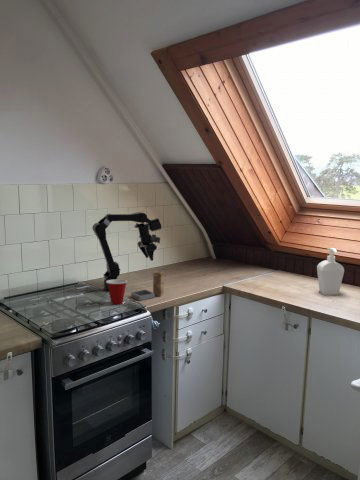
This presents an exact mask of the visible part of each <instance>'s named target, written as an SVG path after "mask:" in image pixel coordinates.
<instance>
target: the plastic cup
mask: <svg viewBox="0 0 360 480" xmlns="http://www.w3.org/2000/svg"><path fill="white" fill-rule="evenodd" d="M106 283H107V285H108V289H109V292H108V293H109V298H110V302H111V304H112V305H117V306H118V305H122V304H123V302H124V298H125V292H126V291H125V290H126V285H127V283H128V280H126V279H119V278H117V279H114V280H107V281H106Z"/></svg>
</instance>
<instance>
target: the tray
mask: <svg viewBox="0 0 360 480" xmlns="http://www.w3.org/2000/svg"><path fill="white" fill-rule="evenodd" d="M130 297H131V298H133V299H135V300H137V301H138V302H142V301H147V300H151V299H155V297H156V296H155V293H153V291H150V290H148V289H141V290H136V291H132V292H131V293H130Z"/></svg>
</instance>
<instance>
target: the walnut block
mask: <svg viewBox="0 0 360 480" xmlns="http://www.w3.org/2000/svg"><path fill="white" fill-rule="evenodd" d="M152 277H153V278H152V288H153V289H152V293H155V297H160V298H161V297H163V296H164V295H165V292H164V291H165V271H161V270H160V271H159V270H155V271H154V272H152Z"/></svg>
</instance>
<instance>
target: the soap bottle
mask: <svg viewBox="0 0 360 480" xmlns="http://www.w3.org/2000/svg"><path fill="white" fill-rule="evenodd" d="M326 250H327V251H329V254H327V257H326V259H325V260H322V261H321V262H319V263H318V264H317V265H316V272H317V280H318V281H317V282H318V290H319V292H320V294H322V295H324V296H328V295H329V296H331V295H332V296H333V295H335V296H336V295H337V296H338V295H339V294H340V289H341V286H342V282H343V278H344V273H345V267H344V266H343V265H342V264H340V263H339V262H338V261H337V262H336V256H335V255H334V254H336V253H338V251H337V249H336V248H335V247H328V248H326Z"/></svg>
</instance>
